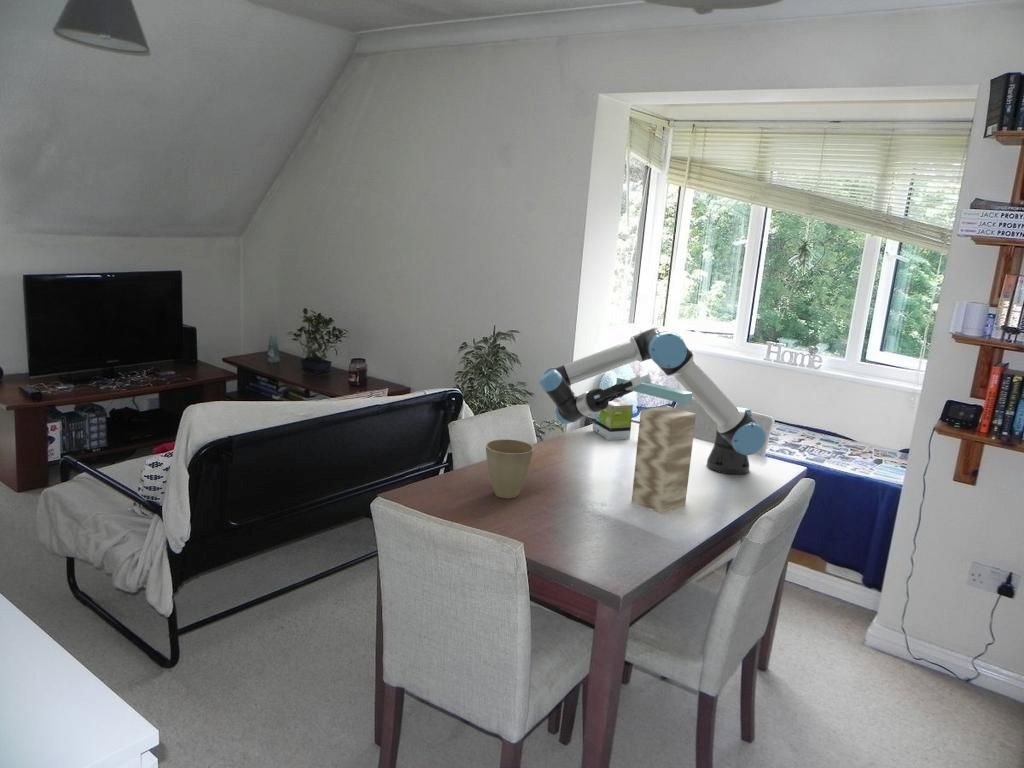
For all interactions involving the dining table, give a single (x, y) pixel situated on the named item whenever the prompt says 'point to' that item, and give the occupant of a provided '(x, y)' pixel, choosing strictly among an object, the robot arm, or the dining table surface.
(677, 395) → the teal block
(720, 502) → the dining table surface
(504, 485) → the plant pot
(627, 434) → the tea box
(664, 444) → the wooden stand
